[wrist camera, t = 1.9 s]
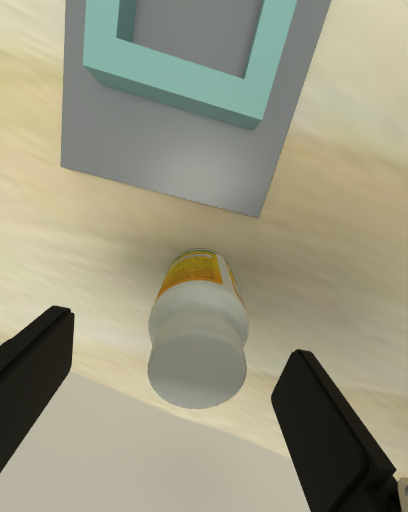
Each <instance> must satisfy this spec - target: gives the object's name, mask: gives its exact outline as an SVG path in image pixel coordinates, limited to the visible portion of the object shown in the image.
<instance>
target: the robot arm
mask: <svg viewBox="0 0 408 512" xmlns="http://www.w3.org/2000/svg"><path fill="white" fill-rule="evenodd" d="M74 317H75V315H74V313H71V310H70V309H69V308H65V307H60V306H51V307H50V308H49V309H47V310H46V311H45V312H44V313H43V314H41V315H40V316H39V317H38V318H36V319H35V320H34V321H33V322H32V323H30V324H29V325H28V326H27V327H25V328H24V329H23V330H22V331H20V332H19V333H18V334H17V335H16V336H14V337H13V338H11V339H9V340H7V341H6V342H4V343H3V344H2V345H1V346H0V473H1V471H2V470H3V468H4V467H5V465H6V464H7V462H8V461H9V459H10V458H11V457H12V455H13V454H14V452H15V451H16V449H17V448H18V446H19V445H20V443H21V442H22V440H23V439H24V437H25V436H26V435H27V433H28V432H29V430H30V429H31V427H32V426H33V424H34V423H35V422H36V420H37V418H38V417H39V416H40V414H41V413H42V411H43V410H44V408H45V407H46V405H47V404H48V403H49V401H50V400H51V398H52V397H53V395H54V394H55V392H56V391H57V389H58V387H60V385H61V384H62V382H63V381H64V379H65V378H66V376H67V375H68V373H69V371H70V368H71V364H72V349H73V333H74ZM271 402H272V405H273V408H274V411H275V414H276V417H277V419H278V422H279V425H280V428H281V430H282V433H283V436H284V439H285V442H286V444H287V447H288V450H289V453H290V455H291V458H292V461H293V464H294V467H295V469H296V472H297V475H298V478H299V480H300V483H301V486H302V489H303V491H304V494H305V497H306V500H307V503H308V505H309V508H310V511H311V512H408V478H400V480H399V481H398V482H397V481H396V480H395V478H394V477H393V474H394V473H395V471H396V468H395V467H394V465H393V464H392V463H391V461H390V460H389V459H388V457H387V456H386V454H385V453H384V452H383V450H382V449H381V447H380V446H379V445H378V443H377V442H376V440H375V439H374V438H373V436H372V435H371V434H370V432H369V431H368V429H367V428H366V427H365V425H364V424H363V422H362V421H361V420H360V418H359V417H358V415H357V414H356V413H355V411H354V410H353V409H352V407H351V406H350V404H349V403H348V402H347V400H346V399H345V397H344V396H343V395H342V393H341V392H340V390H339V389H338V388H337V386H336V385H335V384H334V382H333V381H332V379H331V378H330V377H329V375H328V374H327V372H326V371H325V370H324V368H323V367H322V365H321V364H320V363H319V361H318V360H317V359H316V357H315V356H314V354H313V353H312V352H310V351H305V350H300V349H297V350H295V352H292V353H291V355H290V357H289V359H288V361H287V364H286V366H285V368H284V370H283V372H282V374H281V376H280V378H279V380H278V382H277V384H276V386H275V388H274V391H273V393H272V395H271Z"/></svg>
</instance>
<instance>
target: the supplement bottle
mask: <svg viewBox="0 0 408 512" xmlns="http://www.w3.org/2000/svg"><path fill="white" fill-rule="evenodd" d="M248 329H249V323H248V316H247V312H246V309H245V306H244V303H243V301H242V298H241V296H240V293H239V290H238V288H237V285H236V282H235V279H234V276H233V274H232V271H231V269H230V267H229V265H228V263H227V262H226V260H225V259H224V258H223V257H222V256H220V255H219V254H218V253H216V252H214V251H211V250H208V249H193V250H189V251H186V252H184V253H182V254H181V255H179V256H178V257H177V258H176V259H175V260H174V261H173V263H172V264H171V266H170V268H169V270H168V273H167V275H166V277H165V280H164V282H163V284H162V287H161V289H160V291H159V294H158V296H157V299H156V301H155V303H154V305H153V308H152V310H151V313H150V317H149V336H150V339H151V342H152V345H153V346H152V351H151V355H150V359H149V363H148V377H149V381H150V383H151V385H152V387H153V389H154V390H155V391H156V393H157V394H158V395H159V396H160V397H162V398H163V399H164V400H166V401H168V402H169V403H171V404H174V405H176V406H180V407H183V408H189V409H203V408H210V407H213V406H217V405H219V404H221V403H223V402H225V401H227V400H229V399H230V398H231V397H233V396H234V395H235V394H236V393H237V392H238V391H239V389H240V388H241V387H242V385H243V383H244V380H245V377H246V372H247V366H246V360H245V355H244V351H243V346H244V344H245V342H246V339H247V336H248Z"/></svg>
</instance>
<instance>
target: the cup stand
mask: <svg viewBox="0 0 408 512" xmlns="http://www.w3.org/2000/svg"><path fill="white" fill-rule="evenodd" d="M330 3H331V0H66V10H65V42H64V74H63V105H62V137H61V167H63V168H67V169H71V170H75V171H79V172H83V173H87V174H90V175H94V176H98V177H102V178H106V179H110V180H114V181H117V182H121V183H125V184H129V185H133V186H137V187H141V188H144V189H148V190H152V191H156V192H160V193H164V194H168V195H171V196H175V197H179V198H183V199H187V200H191V201H195V202H198V203H202V204H206V205H210V206H214V207H218V208H222V209H225V210H229V211H233V212H237V213H241V214H245V215H249V216H252V217H256V218H259V216H260V213H261V210H262V207H263V204H264V201H265V198H266V195H267V192H268V189H269V186H270V183H271V180H272V177H273V174H274V171H275V168H276V165H277V162H278V159H279V156H280V153H281V150H282V147H283V144H284V141H285V138H286V135H287V132H288V129H289V126H290V123H291V120H292V117H293V114H294V111H295V108H296V105H297V102H298V99H299V96H300V93H301V90H302V87H303V84H304V81H305V78H306V75H307V72H308V69H309V66H310V63H311V60H312V57H313V54H314V51H315V48H316V45H317V42H318V39H319V36H320V33H321V30H322V27H323V24H324V21H325V18H326V15H327V12H328V9H329V6H330Z"/></svg>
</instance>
